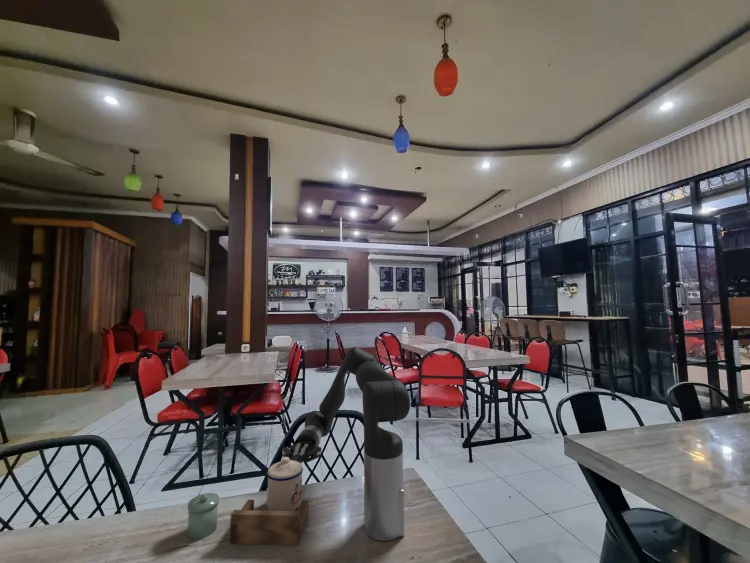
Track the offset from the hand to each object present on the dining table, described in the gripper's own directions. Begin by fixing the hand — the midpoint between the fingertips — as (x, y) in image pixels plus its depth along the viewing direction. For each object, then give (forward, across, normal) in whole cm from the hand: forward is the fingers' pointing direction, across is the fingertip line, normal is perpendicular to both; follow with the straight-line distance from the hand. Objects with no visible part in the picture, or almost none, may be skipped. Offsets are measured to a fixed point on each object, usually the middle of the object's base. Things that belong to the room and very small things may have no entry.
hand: (293, 465), depth 92 cm
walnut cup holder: (+18, 0, +6) cm, 19 cm away
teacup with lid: (+7, 0, +6) cm, 9 cm away
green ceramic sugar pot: (+18, -16, +6) cm, 25 cm away
